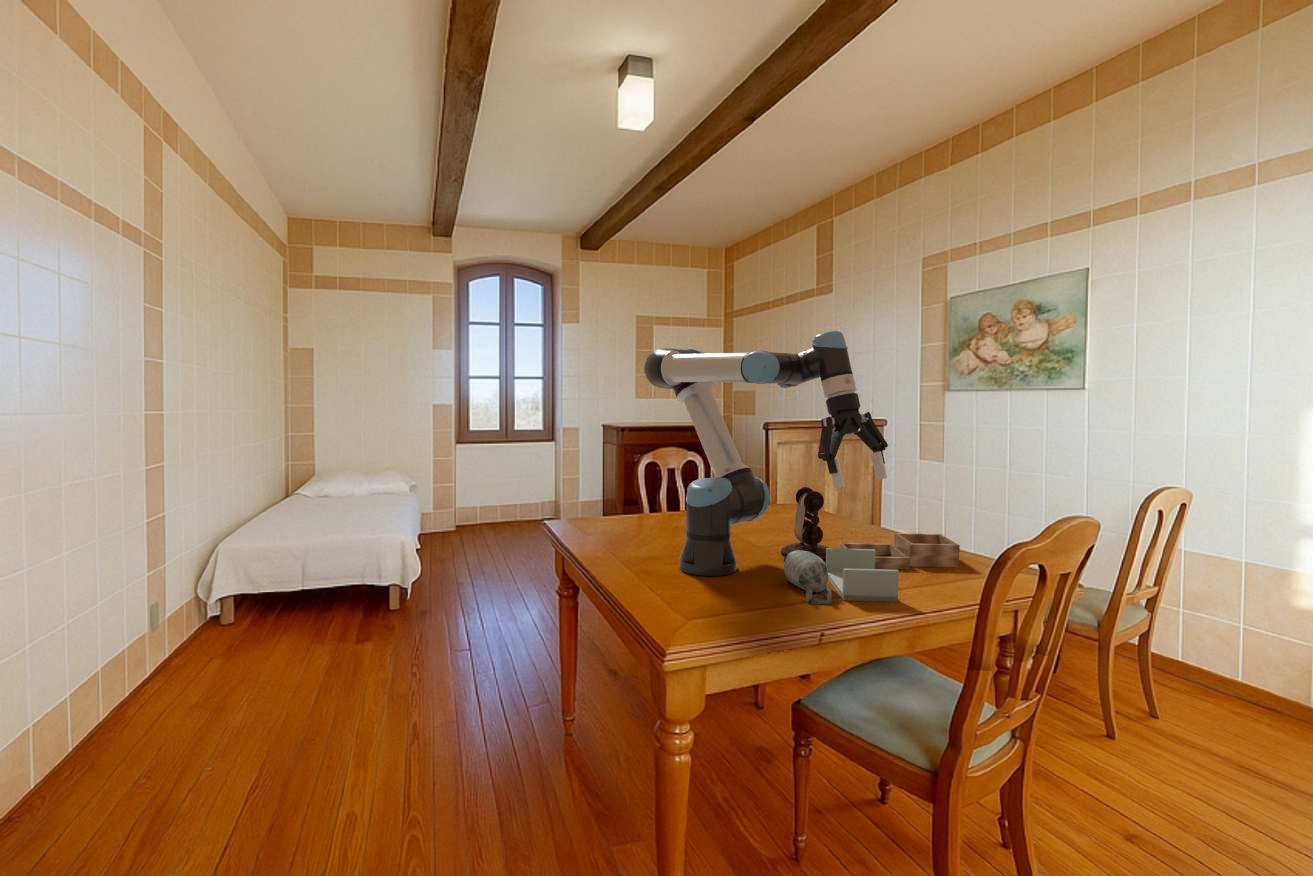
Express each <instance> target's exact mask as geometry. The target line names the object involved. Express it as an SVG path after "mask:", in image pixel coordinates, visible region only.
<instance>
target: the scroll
mask: <svg viewBox="0 0 1313 876" xmlns="http://www.w3.org/2000/svg"><path fill="white" fill-rule="evenodd" d="M795 501H796V503H797V506H796V512H795V517H794V518H795V519H794V530H793V532H794V536H795V538H796V539H797V540H798V541H799V542H795V543H790V544H787V545H785V546H783V547H781V548H780V555H781V556H782V557H783V558H785V559H786V557H787V555H788V554H789V553H791V552H793V551H796V550H803V551H808V552H811V553H813V554H815V555H817V556H818V557H820V558H821V559H822V560H823V561H824V562H825V563H826V548H829V547H828V546H826V545H822V544H820V543H821V542H822V540H823V537H824V532H823V530H822V528H821V527H820V526H819V523H820V517H819V516H818V515H819V511H820V510H821V509H822V508H823V507H824V504H825V498H824V496H823V495H822V493H820V492H819V491H816V490H813V489H812V488H810V487H808V486H804V487H801V488H799V489H798V490H797V491H796V494H795Z"/></svg>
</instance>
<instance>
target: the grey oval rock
mask: <svg viewBox="0 0 1313 876" xmlns="http://www.w3.org/2000/svg"><path fill="white" fill-rule="evenodd" d="M783 573H784V576H785V578H786V580H787V581H788V582H790V583H791V584H792V585H794V586H796V587H798V588H799V589H801V590H804V591H806V586H810V588H811V589H812V593H821V592H822V591H825V587H827V585H828V581H829V579H828V569H827V566H826V562H824V561H823V560H822V559H821V558H820V557H818V556H817V555H815V554H813V553H811V552H808V551H803V550H796V551H793V552H791V553H789V554H788V555H787V557H786V558H785V560H784V562H783Z"/></svg>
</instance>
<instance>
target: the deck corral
mask: <svg viewBox="0 0 1313 876" xmlns="http://www.w3.org/2000/svg"><path fill="white" fill-rule="evenodd" d="M838 548H840V549H874V550H876V553H875V569H890V570H910V567H911V566H910V558H909V557H908V556H907V555H905V554H904V553H903V552H901V551H900V550H899V549H898V548H896V547H895V546H894V544H892V543H866V542H865V543H864V542H862V543H860V542H859V543H858V542H839V543H838Z"/></svg>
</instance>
